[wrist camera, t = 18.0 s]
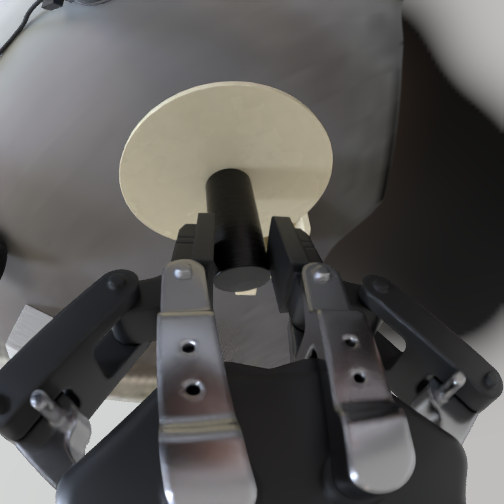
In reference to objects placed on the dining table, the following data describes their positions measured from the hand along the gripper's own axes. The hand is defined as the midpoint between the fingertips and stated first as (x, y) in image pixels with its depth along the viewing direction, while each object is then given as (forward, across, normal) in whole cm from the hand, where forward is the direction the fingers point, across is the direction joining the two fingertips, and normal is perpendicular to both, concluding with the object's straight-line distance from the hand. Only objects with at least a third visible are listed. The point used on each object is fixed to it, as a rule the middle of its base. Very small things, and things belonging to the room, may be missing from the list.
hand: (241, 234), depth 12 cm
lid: (+5, +1, -1) cm, 5 cm away
